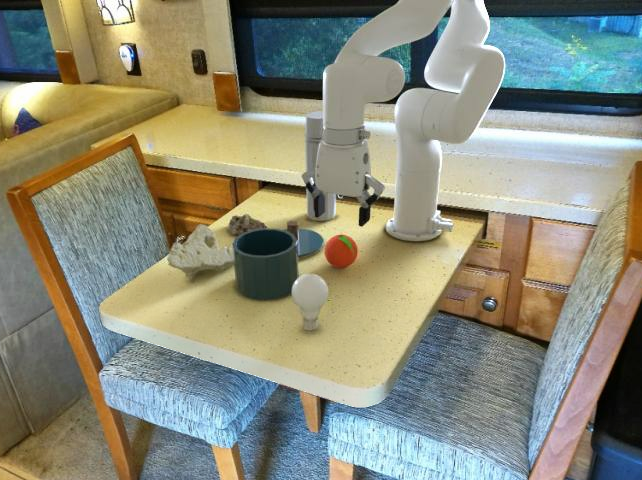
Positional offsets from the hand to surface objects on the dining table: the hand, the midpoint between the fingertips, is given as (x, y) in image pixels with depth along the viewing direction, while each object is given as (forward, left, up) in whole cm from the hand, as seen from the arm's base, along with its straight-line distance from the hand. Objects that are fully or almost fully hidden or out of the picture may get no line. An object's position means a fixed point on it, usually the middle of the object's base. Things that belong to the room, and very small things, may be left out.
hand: (341, 219), depth 120 cm
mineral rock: (+28, -6, -11) cm, 31 cm away
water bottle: (+15, -21, -11) cm, 28 cm away
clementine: (0, 0, -11) cm, 11 cm away
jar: (+10, +13, -11) cm, 20 cm away
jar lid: (+14, -4, -11) cm, 18 cm away
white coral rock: (+24, +16, -11) cm, 31 cm away
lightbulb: (-5, +23, -11) cm, 26 cm away
